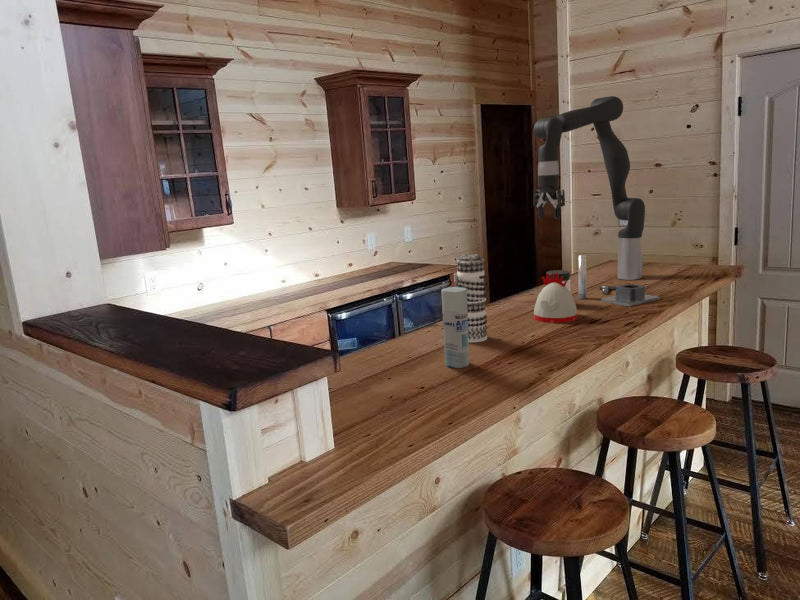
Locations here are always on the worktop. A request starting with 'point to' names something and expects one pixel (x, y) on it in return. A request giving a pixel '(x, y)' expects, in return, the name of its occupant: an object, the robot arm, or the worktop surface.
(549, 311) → the kitchen timer
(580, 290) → the steel rod
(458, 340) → the spray paint can
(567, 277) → the jar
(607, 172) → the robot arm
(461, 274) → the decorative candle
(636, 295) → the chuck block
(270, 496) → the worktop surface
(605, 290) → the chuck key
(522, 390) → the worktop surface
